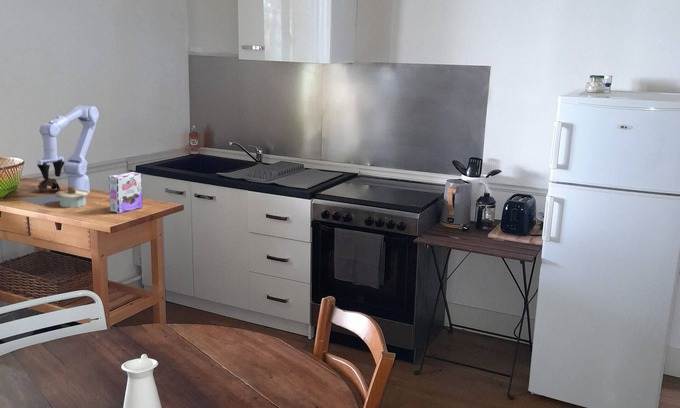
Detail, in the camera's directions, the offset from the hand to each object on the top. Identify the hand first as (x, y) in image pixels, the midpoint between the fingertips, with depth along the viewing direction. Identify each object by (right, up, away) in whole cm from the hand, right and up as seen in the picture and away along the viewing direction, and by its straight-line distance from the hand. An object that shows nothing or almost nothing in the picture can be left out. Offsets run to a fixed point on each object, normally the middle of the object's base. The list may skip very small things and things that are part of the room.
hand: (51, 177), depth 299 cm
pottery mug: (-8, -7, +16) cm, 19 cm away
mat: (-2, -11, -1) cm, 11 cm away
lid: (+13, -8, -8) cm, 17 cm away
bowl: (+13, -13, -7) cm, 19 cm away
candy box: (+39, -15, -11) cm, 43 cm away
